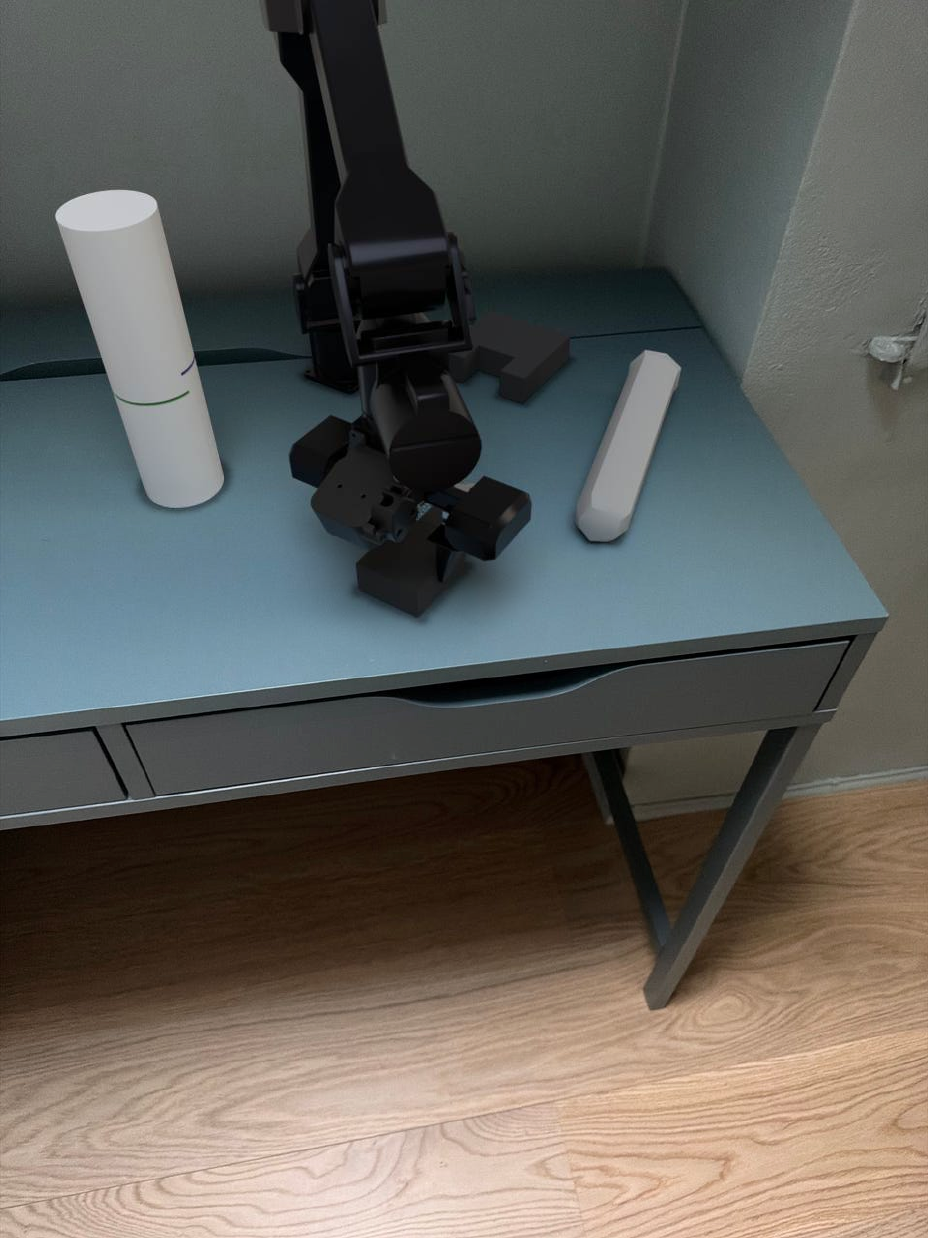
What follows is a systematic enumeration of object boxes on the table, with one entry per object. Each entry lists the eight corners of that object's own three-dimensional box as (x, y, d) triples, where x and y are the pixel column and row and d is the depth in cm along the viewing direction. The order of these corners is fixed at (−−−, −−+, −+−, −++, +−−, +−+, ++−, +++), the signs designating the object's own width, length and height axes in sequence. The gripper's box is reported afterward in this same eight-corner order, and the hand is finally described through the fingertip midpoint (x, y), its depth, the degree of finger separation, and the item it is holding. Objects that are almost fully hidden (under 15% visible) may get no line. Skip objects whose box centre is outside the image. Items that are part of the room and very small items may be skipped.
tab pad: (358, 589, 74) (355, 563, 72) (425, 523, 80) (424, 497, 77) (418, 618, 72) (416, 592, 70) (482, 548, 77) (483, 521, 75)
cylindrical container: (238, 468, 85) (176, 197, 67) (199, 514, 80) (120, 237, 62) (172, 453, 87) (93, 184, 68) (130, 498, 82) (34, 222, 64)
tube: (612, 563, 78) (665, 405, 94) (639, 523, 74) (690, 365, 90) (556, 536, 78) (619, 382, 94) (581, 494, 73) (642, 341, 89)
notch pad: (441, 375, 96) (440, 350, 94) (490, 334, 102) (490, 309, 99) (522, 404, 92) (524, 378, 90) (568, 360, 98) (571, 334, 96)
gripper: (221, 416, 61) (259, 580, 73) (451, 513, 54) (453, 676, 66) (324, 344, 68) (344, 504, 79) (541, 422, 61) (529, 586, 72)
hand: (411, 564), depth 74 cm, fingers closed on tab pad, 6 cm apart
